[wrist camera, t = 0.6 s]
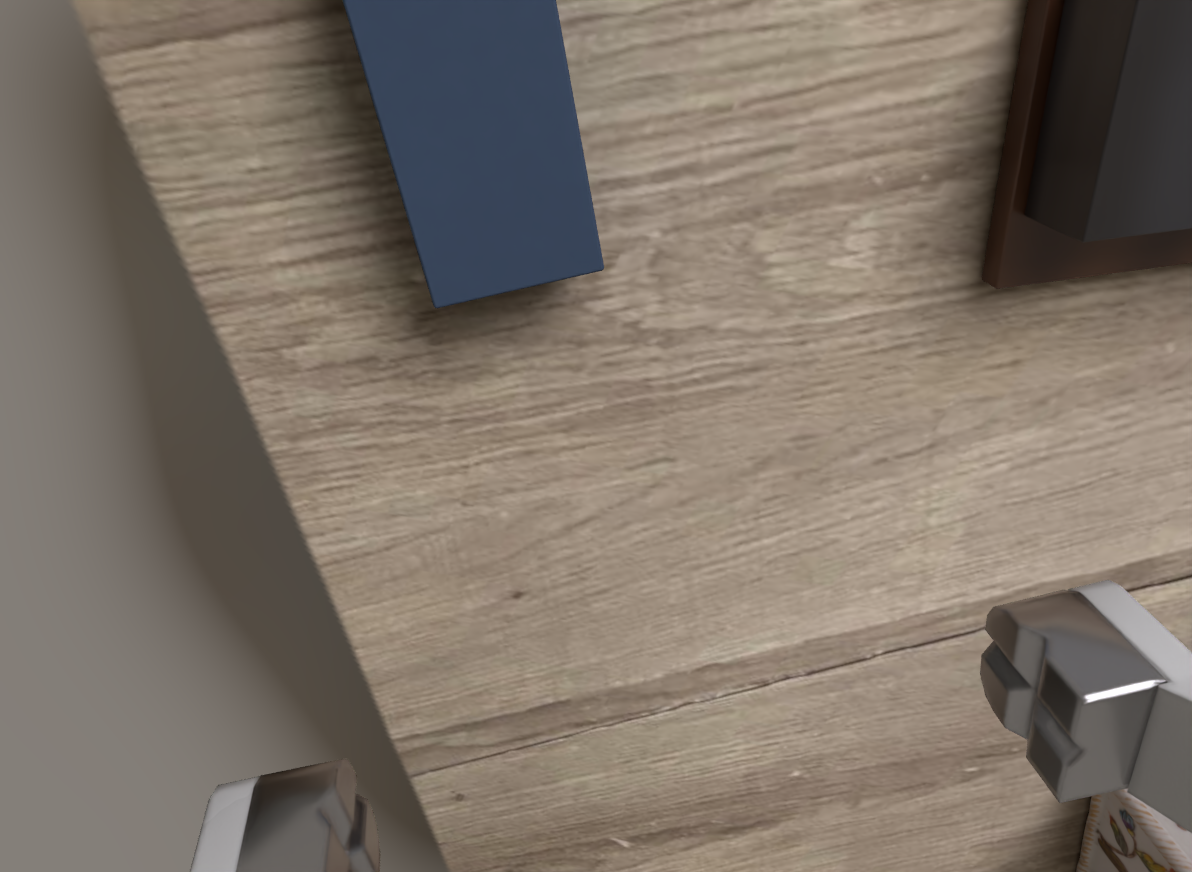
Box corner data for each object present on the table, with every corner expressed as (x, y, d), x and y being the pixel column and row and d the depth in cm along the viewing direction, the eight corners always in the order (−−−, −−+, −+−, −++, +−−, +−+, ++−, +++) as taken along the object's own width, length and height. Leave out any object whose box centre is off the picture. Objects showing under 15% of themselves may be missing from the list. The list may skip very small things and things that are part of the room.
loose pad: (327, -94, 22) (312, -99, 19) (519, -133, 22) (530, -144, 19) (435, 275, 27) (434, 310, 24) (589, 240, 27) (605, 270, 24)
